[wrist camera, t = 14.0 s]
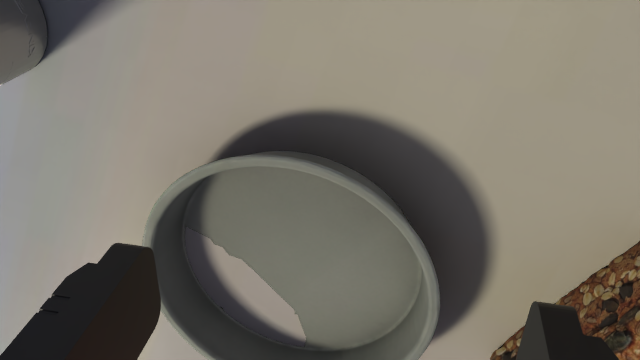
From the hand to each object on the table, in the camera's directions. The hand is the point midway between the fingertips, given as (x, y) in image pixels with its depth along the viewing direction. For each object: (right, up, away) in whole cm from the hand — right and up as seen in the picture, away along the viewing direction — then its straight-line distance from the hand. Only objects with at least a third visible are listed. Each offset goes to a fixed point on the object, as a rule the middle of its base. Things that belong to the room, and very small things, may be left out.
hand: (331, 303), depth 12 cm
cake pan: (-2, -4, +38) cm, 38 cm away
